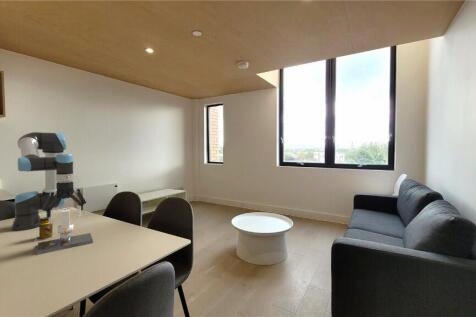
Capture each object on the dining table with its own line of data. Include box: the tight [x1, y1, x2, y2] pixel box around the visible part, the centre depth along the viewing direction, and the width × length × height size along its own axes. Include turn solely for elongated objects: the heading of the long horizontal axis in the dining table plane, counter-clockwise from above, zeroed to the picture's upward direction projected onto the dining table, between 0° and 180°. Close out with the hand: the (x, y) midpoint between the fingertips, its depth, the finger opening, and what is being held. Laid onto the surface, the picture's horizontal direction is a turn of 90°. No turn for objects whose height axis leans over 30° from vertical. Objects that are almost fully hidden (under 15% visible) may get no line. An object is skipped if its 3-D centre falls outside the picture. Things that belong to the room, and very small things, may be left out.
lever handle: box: [57, 207, 74, 234], centre depth 125 cm, size 10×7×12 cm
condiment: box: [33, 216, 55, 242], centre depth 135 cm, size 7×8×12 cm
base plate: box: [35, 231, 94, 255], centre depth 126 cm, size 14×24×7 cm, turn 128°
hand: (65, 219), depth 126 cm, fingers open, 13 cm apart
